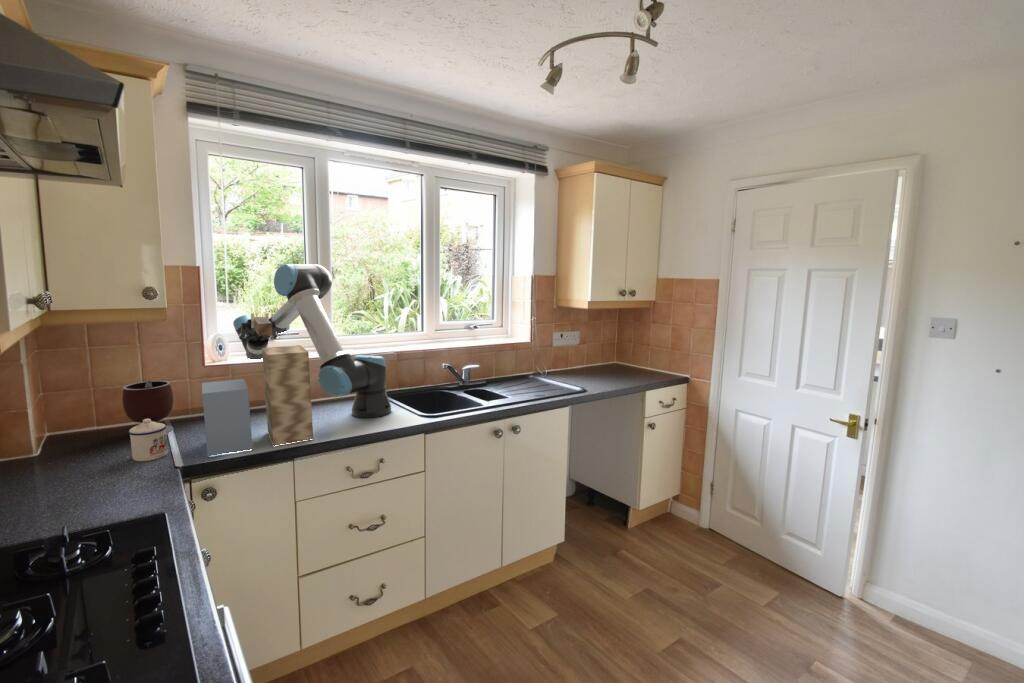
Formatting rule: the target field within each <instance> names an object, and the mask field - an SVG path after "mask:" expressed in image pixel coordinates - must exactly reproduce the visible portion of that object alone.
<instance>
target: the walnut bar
mask: <svg viewBox="0 0 1024 683" xmlns="http://www.w3.org/2000/svg"><path fill="white" fill-rule="evenodd" d="M254 330H255V331H256V332H257V334H258V335H259V336H269V335H272V323H271V322H270V321H269V320H268V319H266V318H265V316H254Z"/></svg>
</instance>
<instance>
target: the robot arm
mask: <svg viewBox="0 0 1024 683" xmlns="http://www.w3.org/2000/svg"><path fill="white" fill-rule="evenodd" d="M332 283H333V279H332V276H331V273H330V272H329V270H327V268H325V267H324V266H323V265H321V264H316V263H314V264H313V263H312V264H309V263H307V264H306V263H305V264H303V263H302V264H301V263H300V264H299V263H297V264H295V263H287V264H286V263H285V264H282V265H280V266H279V267H278V268H277V269H276V270H275V273H274V277H273V286H274V290H275V292H276V293H277V294H278V295H280V296H283V297H286V299H287V301H286V302H285V303H284V304H283V305H282V306H281V307H280V308H278V310H276V312H275V313H274V314H273V315H272V316H271V317H269V313H268V312H266V313H265V316H264V317H265V318H266V319H268V320H269V321H270V322H271V323H272V335H269V336H259V335H258V334H257V332H256V331H255V330H254V317H255V316H254V313H251V314H250V315H248V314H244V315H243V314H242V315H240V316H238V317H236V318H235V319H234V320H233V322H232V324H233V327H234V330H235V333H236V334H237V335H238V339H239V340H240V341H241V344H242V346H243V348H244V350H245V356H246V358H247V359H248V358H250V359H261V358H263V354H262V348H269V347H268V346H269V341H270V340H269V339H270V338H271V337H272V338H278V336H277V334H278V333H281V332H284V331H287V330H290V327H291V326H290V325H291V324H292V323H293V322H294V321H295V320H296V319H297V318H299V316H300V318H301V321H302V323H303V324H304V327H305V329H306V331H307V333H308V335H309V337H310V340H311V341H312V343H313V346H314V348H315V350H316V352H317V355H318V357H319V358H320V361H321V363H320V364H319V369H320V370H319V372H318V374H317V375H318V378H317V379H318V380H317V381H318V384H319V386H320V388H321V389H322V391H323V392H324V393H325V394H327V395H328V396H331V397H333V398H334V397H335V398H336V397H343V396H347V395H349V394H352V393H355V396H354V400H353V402H352V406H351V415H352V416H353V417H356V418H360V419H361V418H363V419H369V418H370V419H371V418H378V417H383V416H386V415H389V414H391V413H392V404H391V401H390V400H389V397H388V394H387V381H386V379H387V377H386V375H387V374H386V373H387V371H386V368H387V366H386V360H385V357H383V356H381V355H372V354H357V355H354V358H352V356H351V353H348V352H345V351H344V349H343V347H342V344H341V343H340V341H339V339H338V336H337V334H336V332H335V330H334V328H333V326H332V323H331V322H330V320H329V318H328V315H327V313H326V311H325V309H324V307H323V305H322V302H321V299H323V298H324V297H325V296H326V295H328V293H329V291H330V289H331V288H332V285H333V284H332Z"/></svg>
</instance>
